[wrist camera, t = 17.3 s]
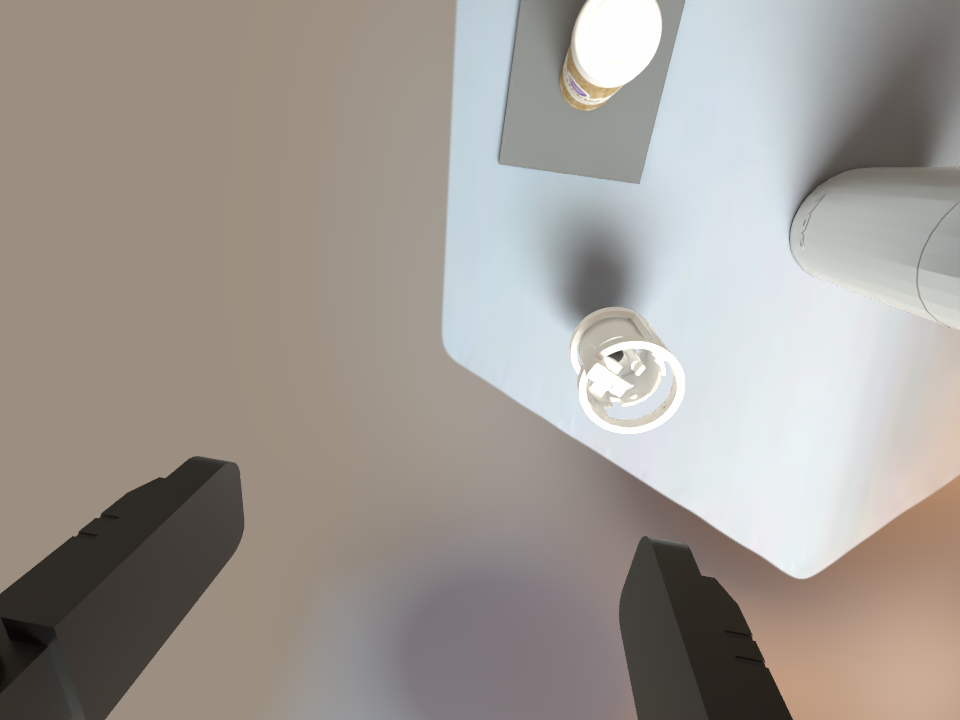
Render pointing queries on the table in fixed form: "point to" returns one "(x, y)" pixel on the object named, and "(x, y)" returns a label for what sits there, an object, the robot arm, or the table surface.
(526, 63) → the mat
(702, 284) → the table surface
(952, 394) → the table surface
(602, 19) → the sprinkles bottle
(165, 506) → the robot arm
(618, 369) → the white pipe fitting
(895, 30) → the table surface
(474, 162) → the table surface
